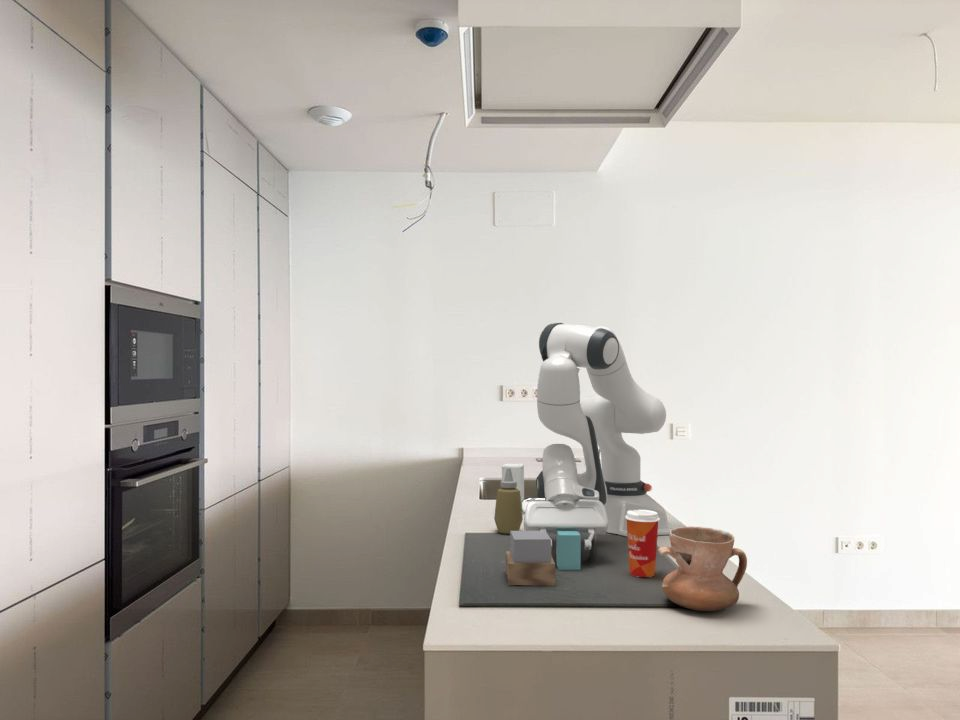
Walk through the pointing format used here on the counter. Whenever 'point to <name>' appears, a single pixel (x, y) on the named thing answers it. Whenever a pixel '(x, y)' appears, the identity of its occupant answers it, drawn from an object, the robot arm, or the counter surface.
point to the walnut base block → (529, 572)
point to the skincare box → (516, 476)
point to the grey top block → (530, 547)
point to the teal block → (568, 549)
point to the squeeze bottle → (508, 506)
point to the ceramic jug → (702, 569)
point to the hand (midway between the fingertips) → (568, 548)
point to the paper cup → (642, 541)
